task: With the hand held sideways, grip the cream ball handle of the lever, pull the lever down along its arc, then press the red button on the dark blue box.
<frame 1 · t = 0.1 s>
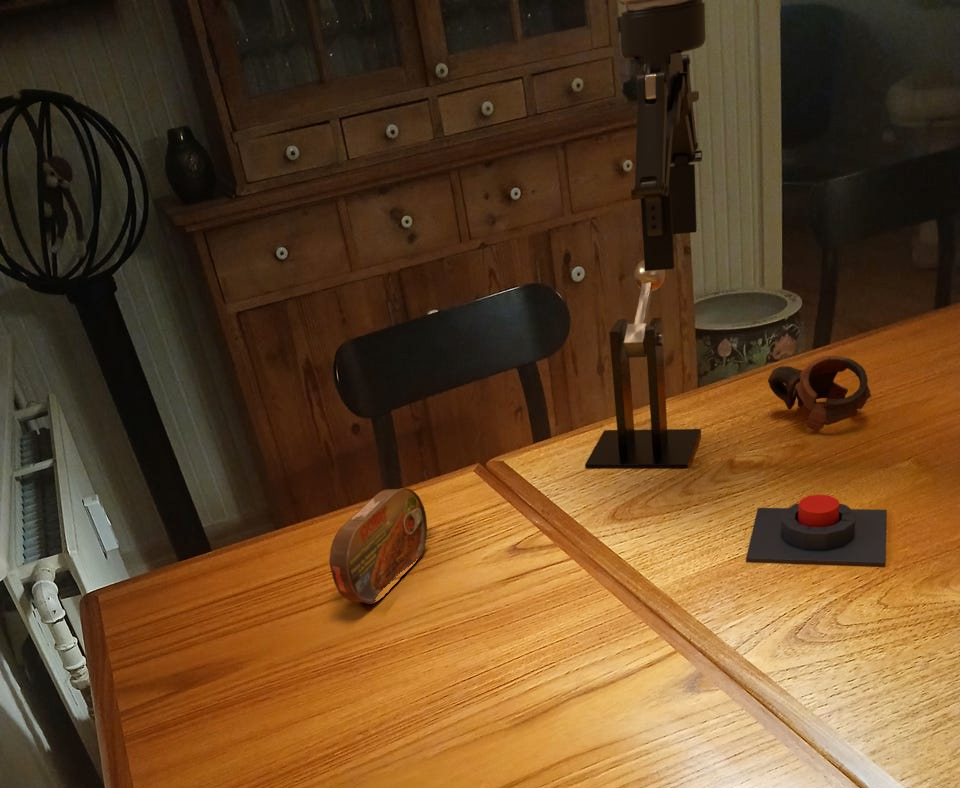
hand: (672, 250, 99), 24 cm above the table, tool pointing down, fingers open, 13 cm apart
button box: (816, 553, 94), on the table
bracket: (644, 455, 118), on the table
tin: (388, 580, 103), on the table
pottery mug: (816, 418, 120), on the table
button: (818, 511, 91), point 4 cm above the table, slide at 0.1 cm
lever: (643, 305, 112), point 16 cm above the table, hinge at 28.0°
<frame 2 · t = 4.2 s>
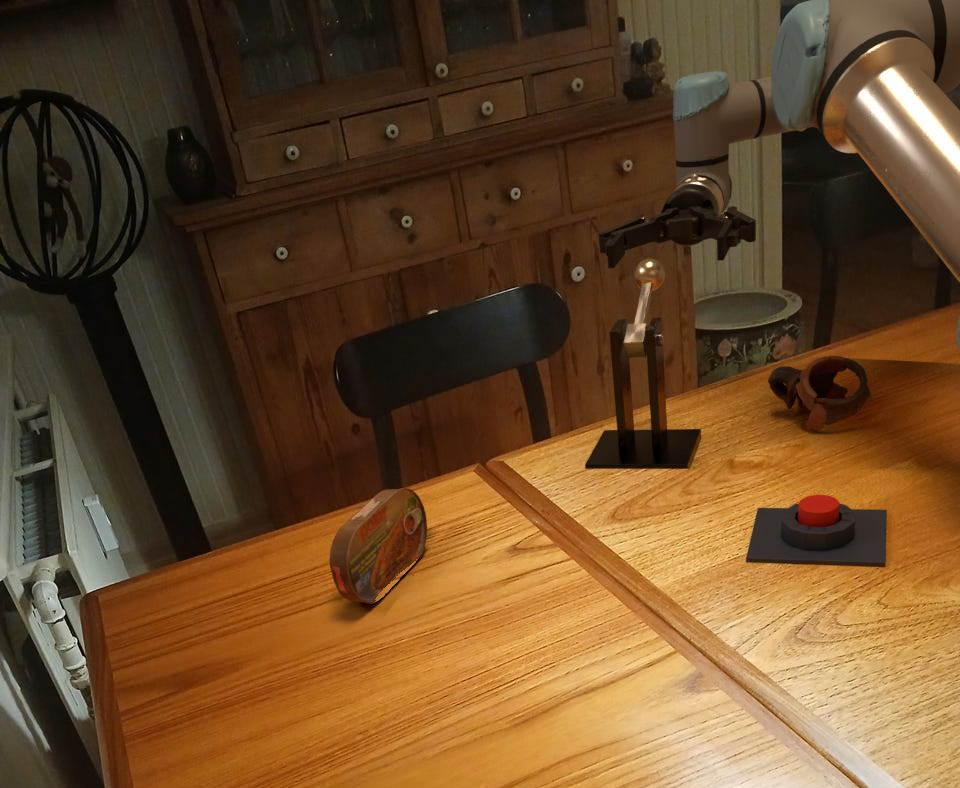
hand: (664, 253, 122), 19 cm above the table, tool horizontal, fingers open, 13 cm apart
nothing on the table moved.
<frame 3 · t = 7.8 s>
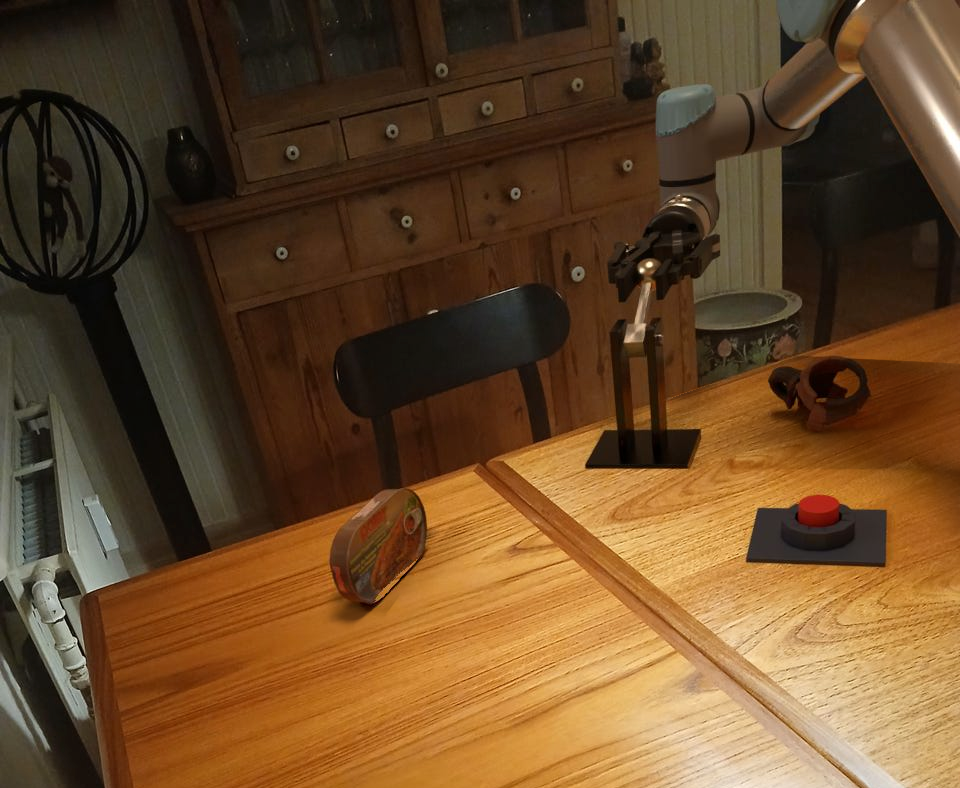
hand: (640, 288, 110), 19 cm above the table, tool horizontal, fingers closed on lever, 4 cm apart
lever: (643, 305, 112), point 16 cm above the table, hinge at 28.0°, touching gripper
everything else where it was.
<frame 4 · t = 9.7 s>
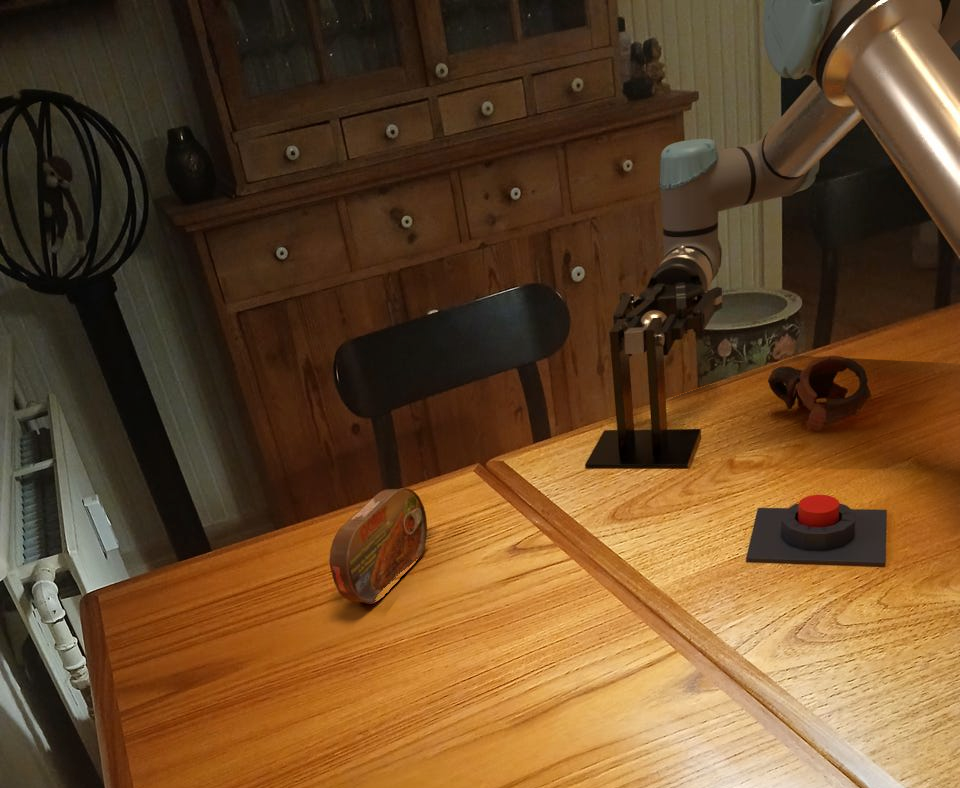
hand: (645, 344, 115), 12 cm above the table, tool horizontal, fingers closed on lever, 4 cm apart
lever: (646, 332, 115), point 13 cm above the table, hinge at -9.3°, touching gripper
everything else where it was.
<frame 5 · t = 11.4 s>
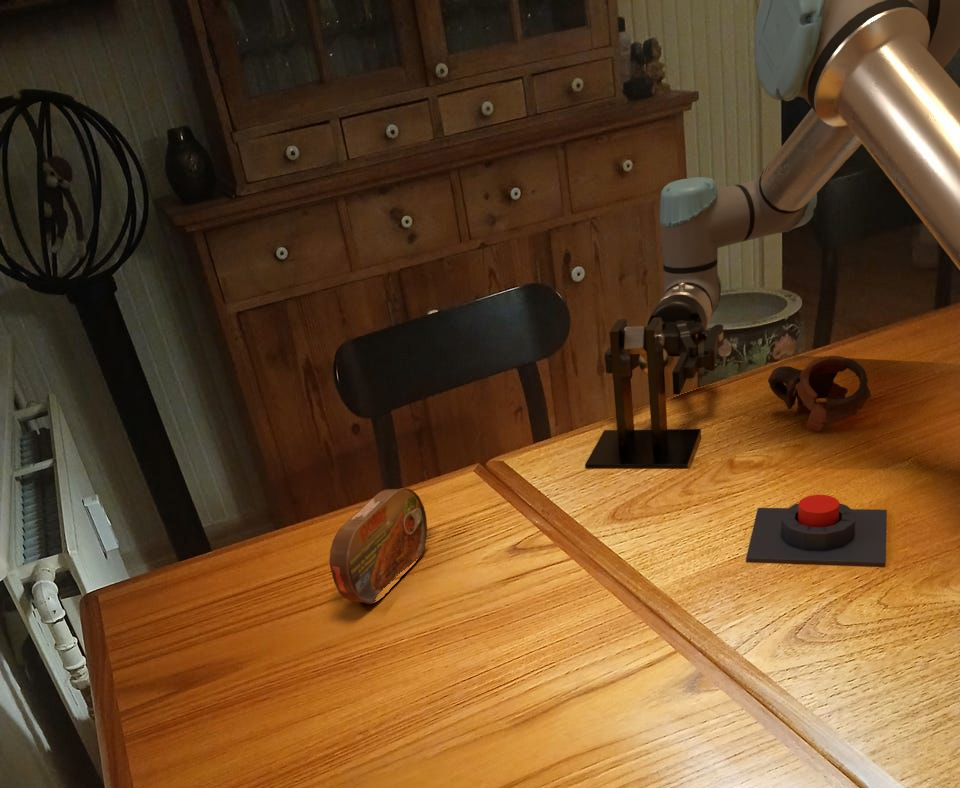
hand: (646, 384, 117), 7 cm above the table, tool horizontal, fingers open, 6 cm apart
lever: (645, 351, 115), point 11 cm above the table, hinge at -32.6°
everything else where it was.
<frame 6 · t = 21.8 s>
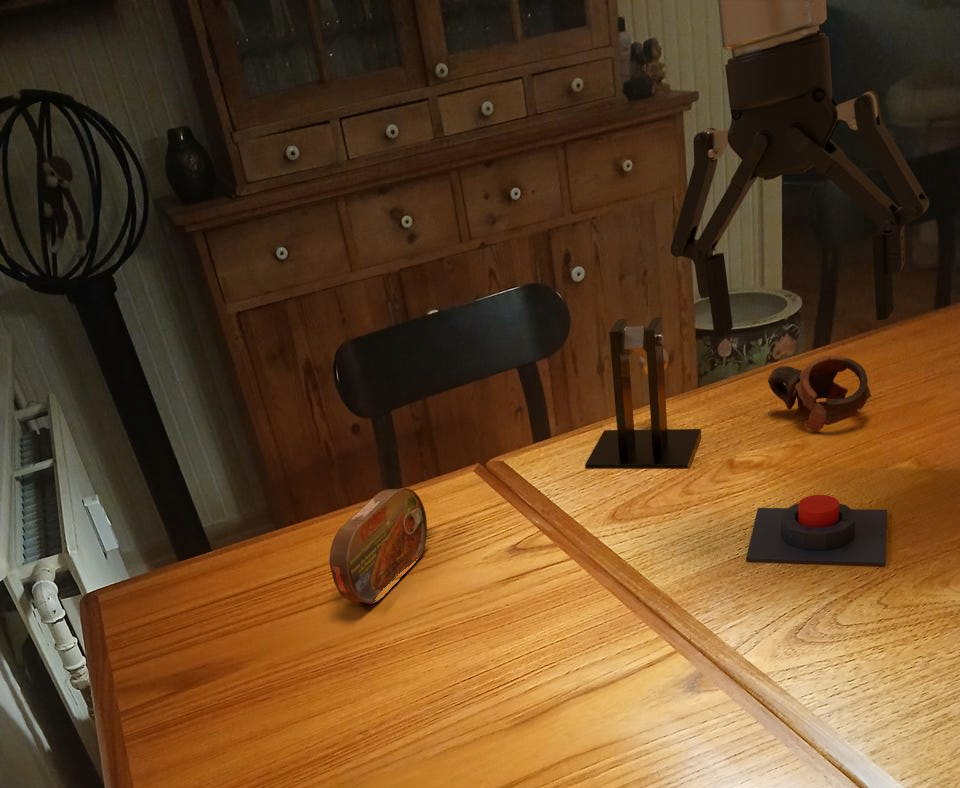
hand: (800, 324, 84), 22 cm above the table, tool pointing down, fingers open, 13 cm apart
nothing on the table moved.
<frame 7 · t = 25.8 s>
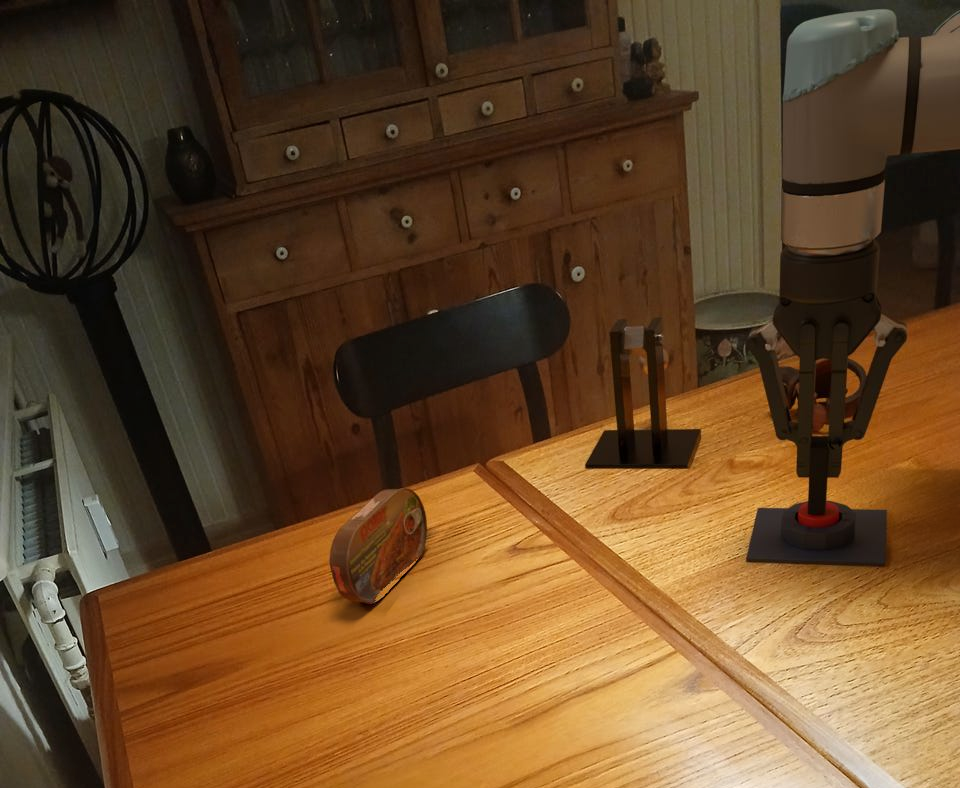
hand: (816, 507, 91), 5 cm above the table, tool pointing down, fingers closed
button: (818, 518, 92), point 4 cm above the table, slide at -0.6 cm, touching gripper
everything else where it was.
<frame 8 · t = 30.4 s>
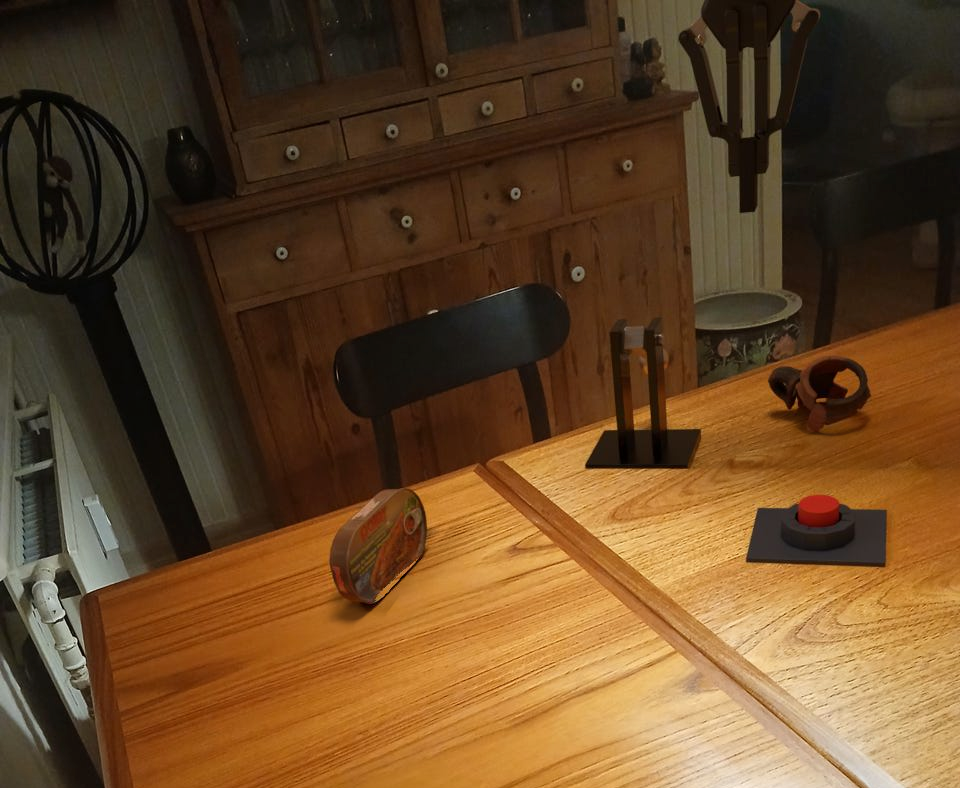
hand: (748, 209, 101), 26 cm above the table, tool pointing down, fingers closed
button: (818, 511, 91), point 4 cm above the table, slide at 0.1 cm
everything else where it was.
at the end: lever at -33° (first picture: +28°); button pushed in 1.0 cm at the most during the clip, back to where it started at the end; button slide at 0.1 cm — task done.
